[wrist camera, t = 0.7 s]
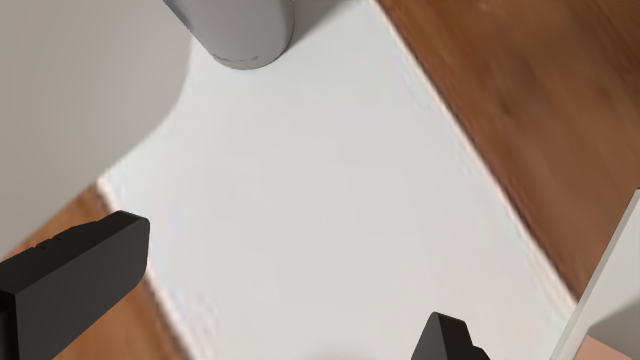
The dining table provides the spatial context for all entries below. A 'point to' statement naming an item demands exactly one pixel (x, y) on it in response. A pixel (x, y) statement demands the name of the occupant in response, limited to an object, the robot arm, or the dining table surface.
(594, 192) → the dining table surface
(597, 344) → the salmon pink rectangular block
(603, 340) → the pipe stand
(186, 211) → the dining table surface
